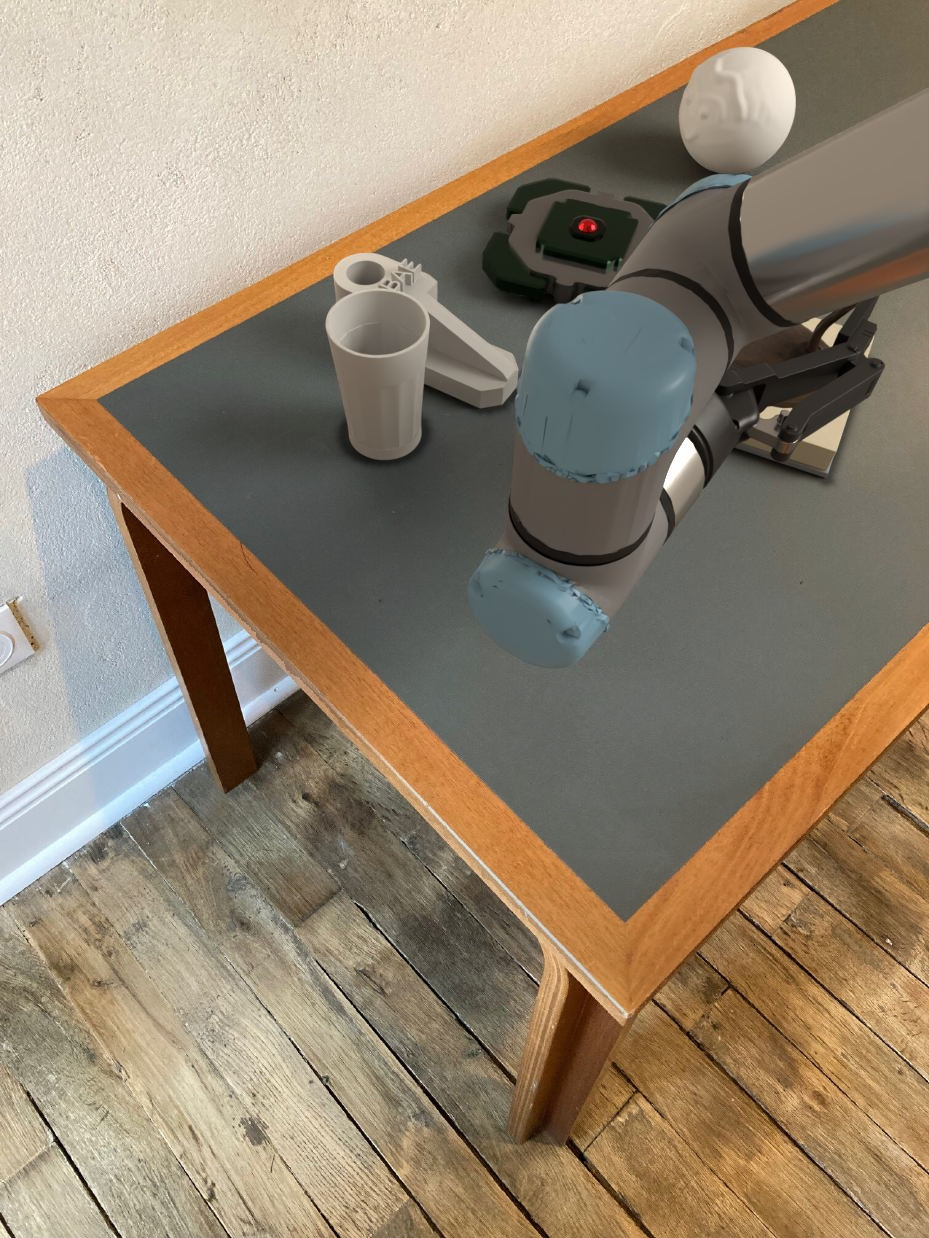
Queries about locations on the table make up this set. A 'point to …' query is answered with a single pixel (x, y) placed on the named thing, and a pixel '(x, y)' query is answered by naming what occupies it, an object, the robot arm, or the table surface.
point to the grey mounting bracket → (437, 332)
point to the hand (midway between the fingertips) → (796, 268)
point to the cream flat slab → (818, 446)
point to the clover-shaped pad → (565, 239)
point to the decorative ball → (737, 110)
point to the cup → (380, 368)
